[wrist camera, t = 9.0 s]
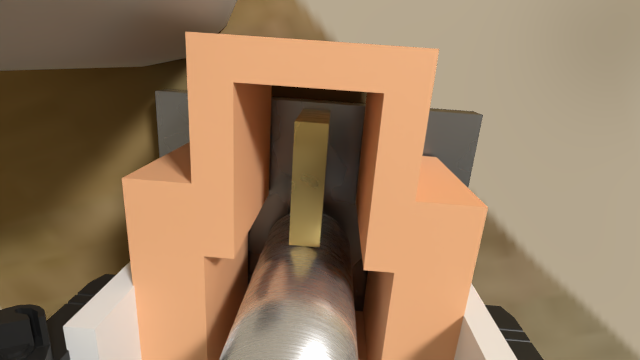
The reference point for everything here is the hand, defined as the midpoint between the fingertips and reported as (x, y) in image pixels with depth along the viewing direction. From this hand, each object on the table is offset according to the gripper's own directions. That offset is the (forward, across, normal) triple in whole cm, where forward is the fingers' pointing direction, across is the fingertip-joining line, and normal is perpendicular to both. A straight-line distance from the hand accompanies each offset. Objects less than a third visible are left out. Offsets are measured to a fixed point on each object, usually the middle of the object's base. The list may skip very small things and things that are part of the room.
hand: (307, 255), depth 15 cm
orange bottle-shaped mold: (0, 0, +2) cm, 2 cm away
